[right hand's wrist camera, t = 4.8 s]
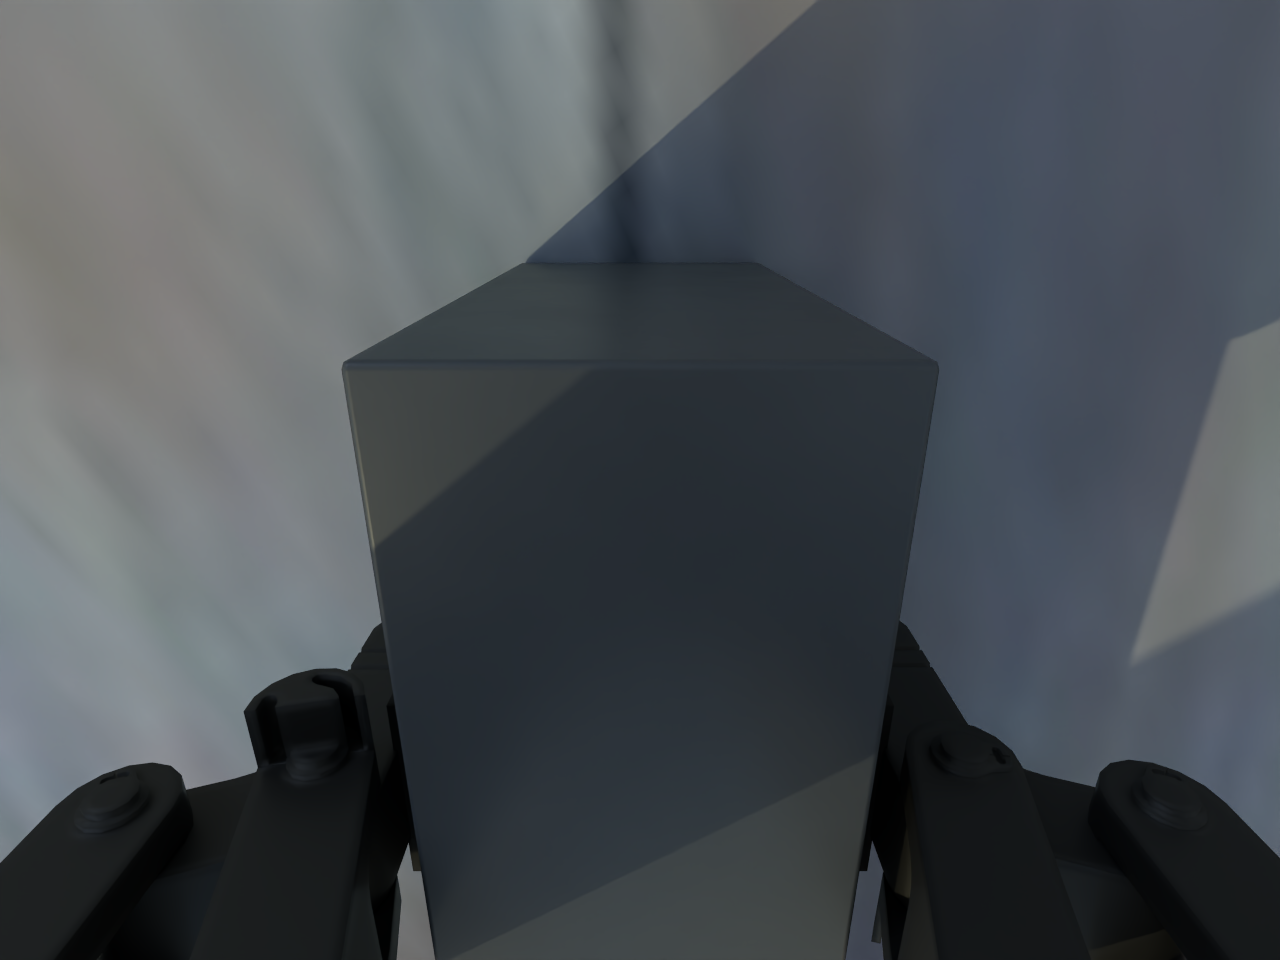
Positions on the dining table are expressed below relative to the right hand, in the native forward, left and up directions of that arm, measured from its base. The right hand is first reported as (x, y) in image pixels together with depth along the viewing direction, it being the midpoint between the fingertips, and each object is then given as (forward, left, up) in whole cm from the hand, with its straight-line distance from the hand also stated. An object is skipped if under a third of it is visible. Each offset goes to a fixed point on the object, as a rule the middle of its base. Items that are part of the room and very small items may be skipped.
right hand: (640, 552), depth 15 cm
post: (+18, +31, -1) cm, 36 cm away
